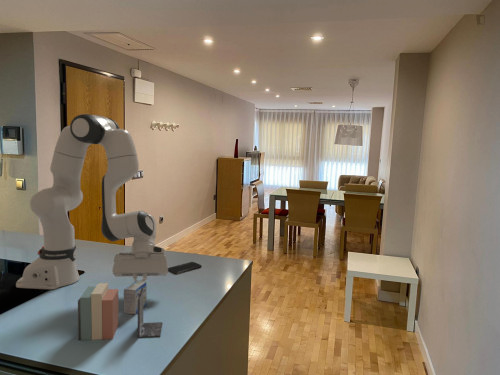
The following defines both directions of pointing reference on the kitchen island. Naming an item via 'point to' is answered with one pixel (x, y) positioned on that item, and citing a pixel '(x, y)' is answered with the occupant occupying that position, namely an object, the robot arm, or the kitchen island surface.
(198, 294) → the kitchen island surface
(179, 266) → the phone
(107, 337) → the books
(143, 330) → the bookends
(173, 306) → the kitchen island surface
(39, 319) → the kitchen island surface
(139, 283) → the medicine box
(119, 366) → the kitchen island surface
